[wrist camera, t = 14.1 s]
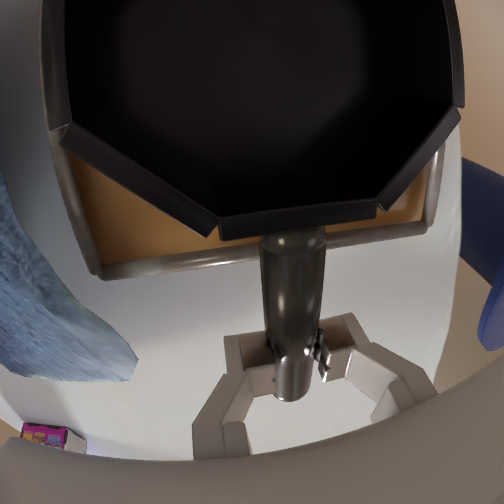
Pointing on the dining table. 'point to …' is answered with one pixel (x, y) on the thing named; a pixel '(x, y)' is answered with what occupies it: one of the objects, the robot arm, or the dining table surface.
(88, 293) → the dining table surface
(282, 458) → the robot arm
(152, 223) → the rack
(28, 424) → the candy bar box
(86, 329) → the blue piece
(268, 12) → the pan
